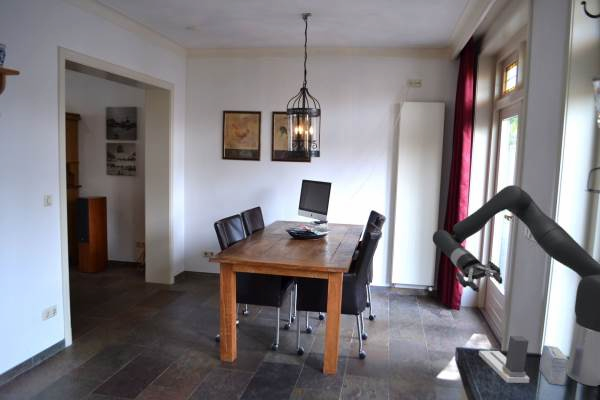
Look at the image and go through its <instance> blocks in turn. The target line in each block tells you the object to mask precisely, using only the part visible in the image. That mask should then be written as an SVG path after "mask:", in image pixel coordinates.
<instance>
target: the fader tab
mask: <svg viewBox="0 0 600 400" xmlns="http://www.w3.org/2000/svg"><path fill="white" fill-rule="evenodd" d="M529 343H530V342H529V340H528V339H527V338H525V337H524V336H520V335H519V336H518V335H510V336H509V340H508V347H507V352H506V365H505V366H503V367H502V369H503V370H504V371H505V372H506V373H507V374H508V375H509V376H527V372H525V366H526V359H527V353H528V348H529Z"/></svg>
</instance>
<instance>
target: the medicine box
mask: <svg viewBox="0 0 600 400" xmlns="http://www.w3.org/2000/svg"><path fill="white" fill-rule="evenodd" d="M542 346H543V347H542V350H541V356H540V362H539V371H540V373H541V374H542V376H543V377H544V378H545V379H546V381H547V383H548V384H553V385H559V386H564V385H565V383H566V381H565V380H566V375H567V373H566V372H567V366H568V360H569V358H568V357H567V356H566V355H565V353H563V352H562V350H561V348H559V347H557V346H553V345H552V346H551V345H542Z"/></svg>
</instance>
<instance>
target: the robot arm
mask: <svg viewBox="0 0 600 400" xmlns="http://www.w3.org/2000/svg"><path fill="white" fill-rule="evenodd" d="M504 211H508V212H509V213H511V214H513V215H514V216H516V218H518V219H519V220H520V221H521V222H522V223H523V224H524V225H526V227H527V228H528V230H529V232H530V234H531V236H532V238H533V239H534V241H535V242H537V243H536V244H537V245H539V247H540V248H541V249H543V251H544V252H545V253H546V254H547V255H548V256H549V257H550V258H552V259H553V260H555V261H557V262H558V263H559V264H561V265H563V266H565V267H566V268H568V269H570V270H572V271H574V273H576V274H577V275H578V276H579V277H581V279H580V280H579V283H578V285H577V289H576V295H575V303H574V314H575V322H574V327H573V334H572V339H571V344H570V346H571V347H570V351H569V356H568V364H567V370H566V375H567V376H568V377H569V378H570V379H571V380H574V381H576V382H578V383H580V384H583V385H585V386H589V387H590V386H591V387H599V386H598V385H600V263H599V262H598V261H597V260H596V259H595V258H594V257H592V256H591V255H590V253H589V252H587V251H586V250H585V249H584V247H582V246H581V245H580V244H579V243H578V242H577V241H576V240H575V238H573V237H572V235H570V234H569V233H568V232H567V230H565V229H564V228H563V227H562V226H561V224H559V223H558V222H557V221H555V220H554V219H552V218H551V217H549V216H548V215H547V214H546V213H544V211H542V210H541V208H540V207H539V206H538V204H537V203H536V202H535V201H534V200H533V198H532V197H531V195H530V194H529V193H528V192H526V191H525V190H523V189H522V188H521V187H519V186H518V185H512V184H511V185H508V186H505V187H503V188H502V189H500V190H499V191H498V192H497V193H496V194H495V195H494V196H492V197H491V198H490V199H489V200H488V201H487V202H485V203H484V204H483V205H481V207H479V208H478V209H476V211H474V212H473V213H471V214H470V215H469V216H467V217H465V218H463V219H462V220H460V221H458V222H457V223H455V224H454V225H453V227H452V229H453V232H454V235H452V234H450V233H449V232H448V231H446V230H444V229H439V230H436V231H435V232H433V235H432V242H433V243H434V245H435V246H436V247H437V248H438V249H440V250H441V251H442V252H443V253H444V254H445V255H446V256H447V258H449V259H450V260H451V262H452V263H453V265H454V266H455V267H456V268H457V269H458V270H459V271H460V272H461V273H460V272H456V273H455V275H456V280H457V281H458V283H459V284H460V285H461V286H462V288H467V287H469V288H470V289H472V291H473V292H476V293H478V292H480V289H479V286H478V285H477V284H476V283H475V282H474V281H475V280H479V279H482V278H488V279H489V278H493V280H495V281H496V282H497V283H498V284H499V285H501V284H503V277H502V276H501V275H502V273H501V268H500V267H498V265H496V264H495V263H494V262H492V261H490V260H489V261H488V262H487V264H483V263H481V261H480V260H479V259H478V258H477V257H476V256H475V255H474V254H472V253H471V252H470V251H469V250H468V249H466V248H465V246H463V245H462V244H463V243H464V242H465V241H466V240H467V239H468V238H470V237H472V236H473V235H475V234H476V233H479V232H480V231H481V230H482V229H483V228H484V227H485V226H486V225H487V223H488V222H489V221H490V220H491V219H492V218H493V217H495V216H496V215H497V214H499V213H501V212H504ZM465 278H466V279H467V280H466V279H465Z"/></svg>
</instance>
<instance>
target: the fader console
mask: <svg viewBox="0 0 600 400" xmlns="http://www.w3.org/2000/svg"><path fill="white" fill-rule="evenodd" d="M478 356H479V357H480V358H482V360H483V361H484V362H485V363H486V364H487V365H488V366H490V368H492V370H494V372H495V373H497V375H499V377H501V378H502V380H504V381H505V383H508V384H510V383H511V384H512V383H515V384H519V383H520V384H530V377H529V376H528V375H526V376H509V375H508V374H507V373H506V372H505V371H504V370H503V369H502V367H503V366H505V365H506V358H507V356H505V355H504V354H503V353H502V352H501V351H499V350H479V351H478Z"/></svg>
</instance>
